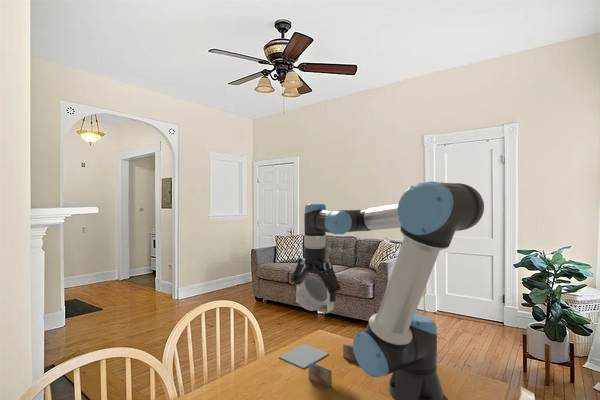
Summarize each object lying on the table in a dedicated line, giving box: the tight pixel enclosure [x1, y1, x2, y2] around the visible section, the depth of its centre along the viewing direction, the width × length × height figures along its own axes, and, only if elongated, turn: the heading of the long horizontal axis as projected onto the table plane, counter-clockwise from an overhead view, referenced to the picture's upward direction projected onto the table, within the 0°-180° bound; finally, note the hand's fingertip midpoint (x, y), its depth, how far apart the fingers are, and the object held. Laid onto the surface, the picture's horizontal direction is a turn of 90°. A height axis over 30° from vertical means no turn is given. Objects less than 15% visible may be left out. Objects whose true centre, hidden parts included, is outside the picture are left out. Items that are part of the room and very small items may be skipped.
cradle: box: [308, 342, 358, 389], centre depth 113 cm, size 8×21×5 cm, turn 138°
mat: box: [278, 343, 330, 370], centre depth 123 cm, size 12×14×1 cm
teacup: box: [295, 276, 332, 314], centre depth 119 cm, size 14×11×8 cm
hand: (314, 306), depth 120 cm, fingers closed on teacup, 13 cm apart
